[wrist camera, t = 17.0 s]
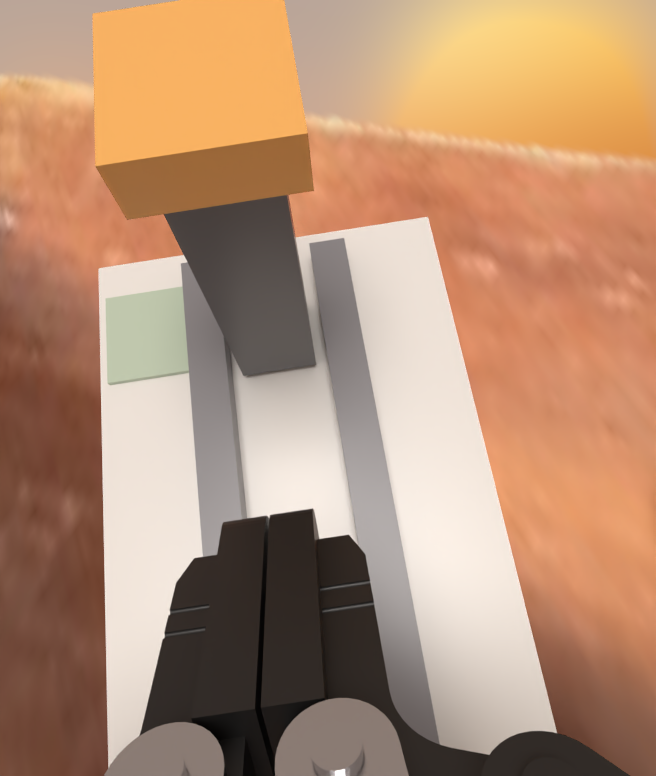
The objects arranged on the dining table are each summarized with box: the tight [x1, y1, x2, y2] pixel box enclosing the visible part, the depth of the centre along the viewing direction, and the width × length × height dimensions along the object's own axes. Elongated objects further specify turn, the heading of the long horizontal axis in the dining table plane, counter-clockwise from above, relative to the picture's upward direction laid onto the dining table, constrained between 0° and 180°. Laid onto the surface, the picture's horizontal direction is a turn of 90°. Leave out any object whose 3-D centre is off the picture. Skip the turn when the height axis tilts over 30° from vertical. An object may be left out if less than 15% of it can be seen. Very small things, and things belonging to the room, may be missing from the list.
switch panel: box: [99, 217, 557, 768], centre depth 18 cm, size 12×20×2 cm, turn 9°
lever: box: [93, 0, 316, 376], centre depth 15 cm, size 3×3×11 cm
